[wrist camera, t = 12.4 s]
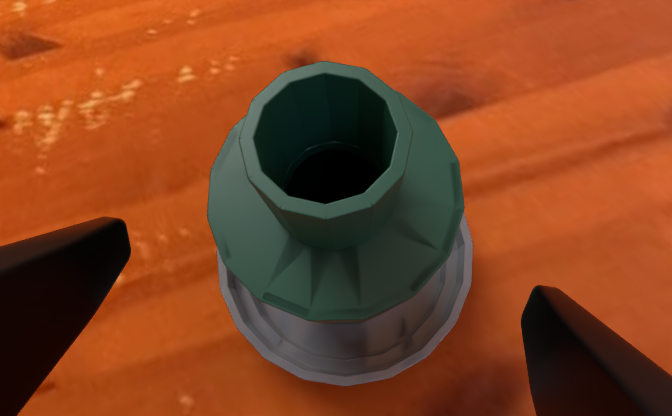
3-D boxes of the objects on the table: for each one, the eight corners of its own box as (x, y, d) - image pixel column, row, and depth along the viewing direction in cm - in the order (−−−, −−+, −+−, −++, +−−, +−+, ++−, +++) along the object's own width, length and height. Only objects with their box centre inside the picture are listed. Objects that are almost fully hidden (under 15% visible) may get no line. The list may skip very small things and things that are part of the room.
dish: (348, 432, 19) (347, 450, 16) (191, 261, 22) (166, 251, 19) (503, 254, 21) (526, 242, 18) (341, 118, 24) (339, 90, 21)
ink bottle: (347, 353, 20) (328, 409, 6) (256, 261, 21) (82, 144, 8) (434, 256, 21) (579, 124, 7) (342, 175, 22) (322, -57, 9)
